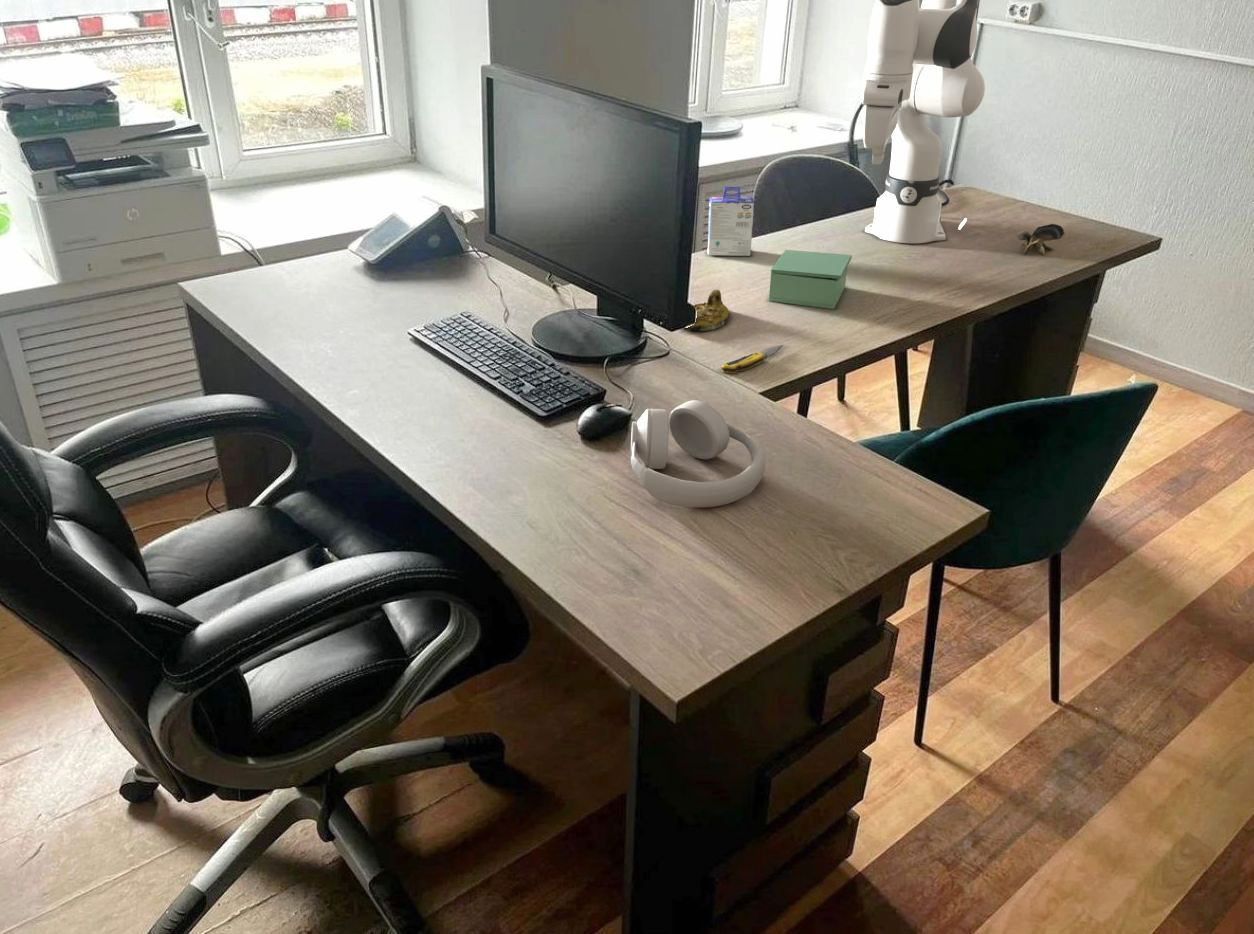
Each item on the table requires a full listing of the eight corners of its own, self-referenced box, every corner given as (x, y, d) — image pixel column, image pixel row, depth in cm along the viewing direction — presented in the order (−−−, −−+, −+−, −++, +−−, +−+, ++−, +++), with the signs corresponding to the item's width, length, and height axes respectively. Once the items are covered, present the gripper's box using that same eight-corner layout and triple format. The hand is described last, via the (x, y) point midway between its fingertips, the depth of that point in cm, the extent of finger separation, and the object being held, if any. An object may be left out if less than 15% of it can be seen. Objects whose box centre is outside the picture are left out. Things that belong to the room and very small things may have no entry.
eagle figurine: (1046, 256, 223) (1070, 241, 227) (1033, 226, 222) (1058, 212, 226) (1020, 265, 230) (1043, 251, 234) (1007, 237, 229) (1031, 223, 233)
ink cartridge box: (749, 249, 230) (754, 185, 222) (751, 256, 225) (756, 192, 218) (706, 248, 230) (709, 185, 222) (707, 256, 225) (710, 191, 218)
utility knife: (775, 338, 180) (789, 342, 179) (775, 344, 181) (788, 349, 179) (720, 365, 170) (734, 370, 168) (720, 371, 170) (734, 376, 169)
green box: (845, 287, 208) (848, 260, 205) (833, 309, 197) (837, 281, 194) (782, 279, 211) (785, 253, 209) (768, 300, 200) (770, 273, 197)
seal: (709, 342, 184) (738, 315, 196) (712, 319, 182) (742, 293, 193) (663, 328, 187) (695, 302, 199) (666, 305, 185) (699, 280, 196)
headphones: (603, 448, 145) (661, 534, 131) (606, 404, 140) (666, 488, 126) (715, 426, 151) (782, 505, 137) (721, 382, 147) (791, 460, 132)
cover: (851, 258, 204) (851, 255, 204) (840, 279, 193) (840, 275, 193) (785, 252, 209) (785, 249, 208) (770, 272, 197) (770, 269, 197)
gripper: (877, 77, 195) (868, 149, 202) (861, 96, 179) (852, 174, 186) (910, 79, 193) (900, 152, 201) (897, 98, 177) (887, 177, 184)
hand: (877, 163), depth 193 cm, fingers closed
